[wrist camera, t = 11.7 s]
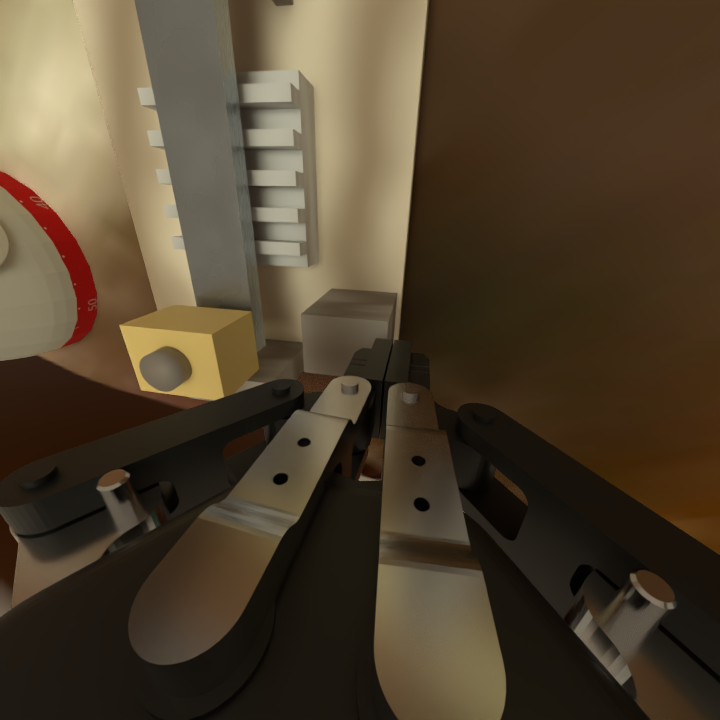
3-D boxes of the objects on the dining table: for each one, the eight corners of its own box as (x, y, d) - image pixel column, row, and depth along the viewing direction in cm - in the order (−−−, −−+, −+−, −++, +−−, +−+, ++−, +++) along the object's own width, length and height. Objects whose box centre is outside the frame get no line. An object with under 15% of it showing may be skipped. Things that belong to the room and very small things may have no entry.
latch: (251, 311, 14) (197, 342, 11) (259, 368, 15) (213, 412, 12) (174, 304, 15) (100, 332, 11) (188, 360, 16) (125, 400, 13)
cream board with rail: (440, -122, 12) (460, -506, 6) (396, 362, 22) (385, 426, 15) (86, -75, 15) (-181, -302, 8) (186, 339, 25) (99, 386, 18)
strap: (219, -137, 10) (194, -180, 9) (270, 345, 17) (259, 353, 16) (127, -121, 10) (93, -161, 9) (214, 339, 17) (200, 347, 16)
